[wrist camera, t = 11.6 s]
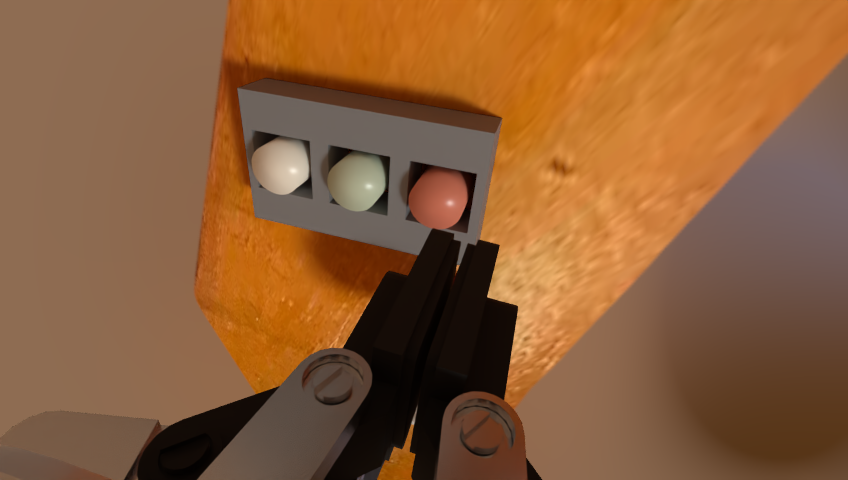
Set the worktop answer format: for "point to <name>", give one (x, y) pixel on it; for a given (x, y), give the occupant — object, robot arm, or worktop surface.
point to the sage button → (359, 179)
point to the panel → (374, 133)
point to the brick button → (440, 196)
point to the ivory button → (282, 164)
